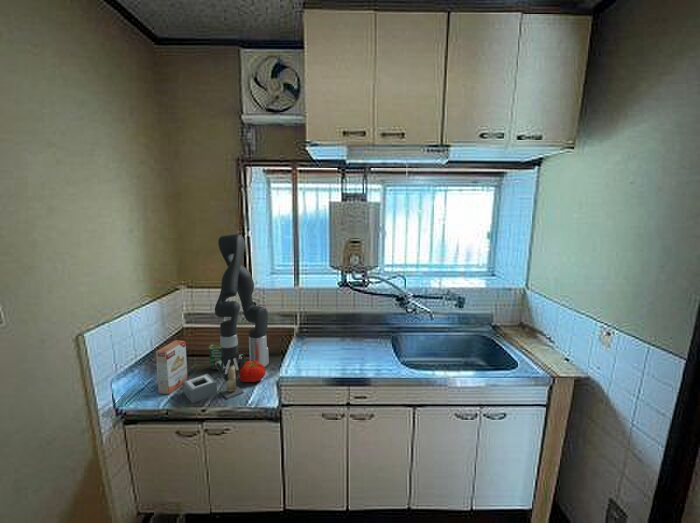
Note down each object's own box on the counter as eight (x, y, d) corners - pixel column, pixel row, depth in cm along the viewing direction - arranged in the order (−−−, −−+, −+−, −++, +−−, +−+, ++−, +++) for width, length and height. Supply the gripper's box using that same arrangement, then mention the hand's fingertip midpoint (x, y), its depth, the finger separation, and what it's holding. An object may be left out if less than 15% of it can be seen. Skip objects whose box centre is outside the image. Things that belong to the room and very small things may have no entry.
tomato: (258, 388, 159) (257, 371, 157) (234, 385, 161) (233, 368, 160) (270, 374, 172) (270, 358, 171) (248, 372, 175) (248, 356, 173)
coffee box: (209, 369, 177) (208, 346, 175) (211, 366, 180) (210, 344, 178) (224, 369, 177) (223, 346, 175) (226, 367, 180) (225, 344, 177)
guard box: (207, 384, 161) (207, 373, 161) (217, 394, 154) (216, 382, 153) (183, 393, 154) (183, 381, 153) (192, 403, 146) (191, 390, 145)
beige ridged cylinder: (233, 385, 157) (232, 362, 156) (237, 389, 155) (236, 365, 153) (225, 389, 155) (224, 364, 153) (229, 392, 152) (228, 368, 150)
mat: (236, 386, 160) (236, 384, 160) (243, 392, 155) (243, 391, 155) (219, 392, 155) (219, 390, 155) (227, 399, 149) (227, 397, 149)
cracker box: (170, 395, 152) (166, 352, 149) (158, 394, 153) (154, 351, 150) (188, 379, 166) (186, 340, 163) (177, 378, 167) (174, 339, 164)
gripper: (240, 337, 159) (241, 371, 161) (210, 345, 149) (212, 381, 152) (247, 342, 153) (249, 376, 156) (217, 350, 144) (219, 387, 146)
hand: (231, 378), depth 154 cm, fingers closed on beige ridged cylinder, 4 cm apart
